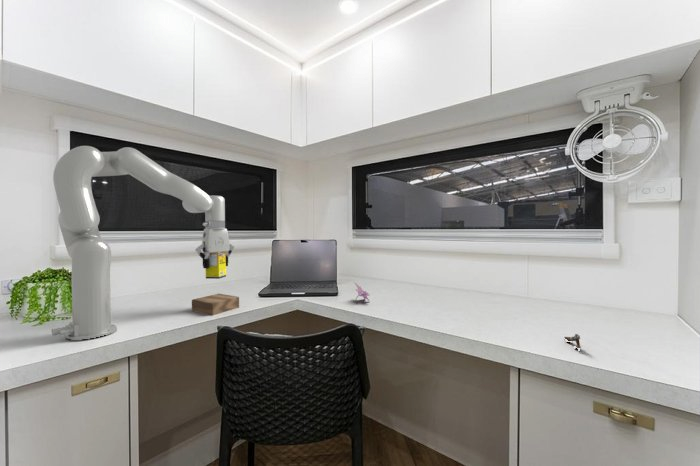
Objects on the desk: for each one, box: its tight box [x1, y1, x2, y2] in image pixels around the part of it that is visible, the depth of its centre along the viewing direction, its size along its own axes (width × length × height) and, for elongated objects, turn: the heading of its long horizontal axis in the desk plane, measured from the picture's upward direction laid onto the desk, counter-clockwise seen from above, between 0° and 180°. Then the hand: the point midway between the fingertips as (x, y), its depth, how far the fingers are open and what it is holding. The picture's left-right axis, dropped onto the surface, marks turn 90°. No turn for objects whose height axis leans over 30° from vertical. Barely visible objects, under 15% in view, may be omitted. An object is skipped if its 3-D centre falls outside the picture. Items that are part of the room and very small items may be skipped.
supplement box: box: [205, 252, 227, 280], centre depth 129 cm, size 6×6×11 cm
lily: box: [353, 281, 371, 303], centre depth 143 cm, size 11×11×9 cm
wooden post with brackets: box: [564, 333, 581, 348], centre depth 90 cm, size 2×8×5 cm, turn 163°
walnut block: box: [191, 293, 240, 316], centre depth 130 cm, size 13×13×5 cm
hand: (215, 266), depth 129 cm, fingers closed on supplement box, 8 cm apart
